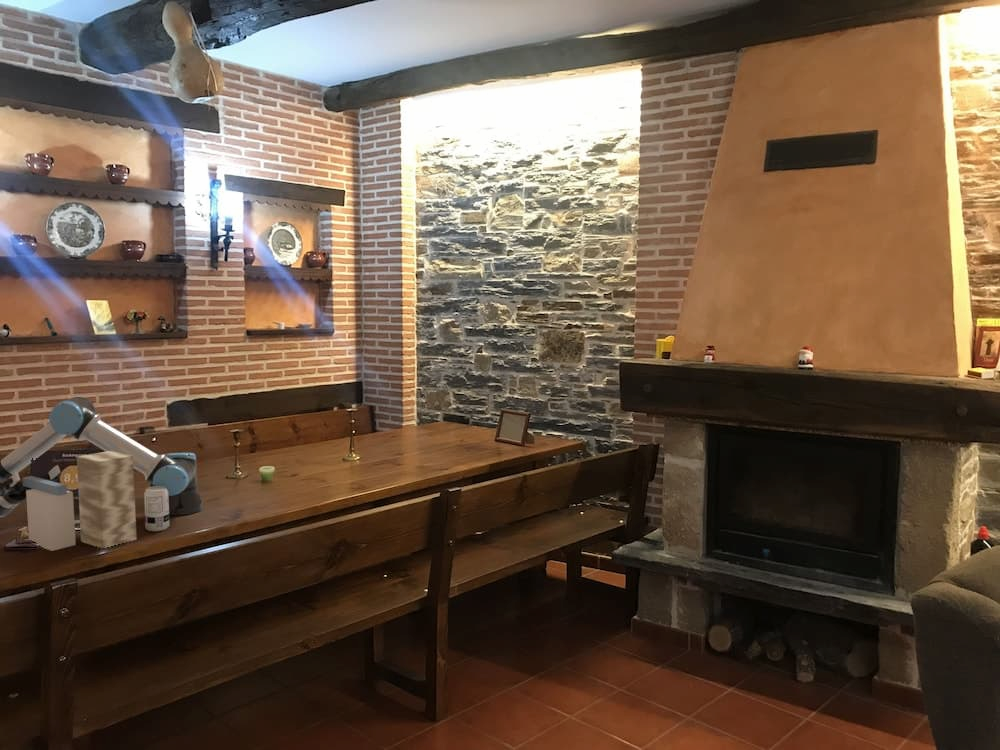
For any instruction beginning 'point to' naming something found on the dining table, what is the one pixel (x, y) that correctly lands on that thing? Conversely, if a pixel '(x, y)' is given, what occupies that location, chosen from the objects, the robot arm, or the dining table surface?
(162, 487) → the supplement can
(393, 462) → the dining table surface
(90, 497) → the birch stand
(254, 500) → the dining table surface
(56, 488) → the slate bar
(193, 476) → the robot arm
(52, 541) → the white step
